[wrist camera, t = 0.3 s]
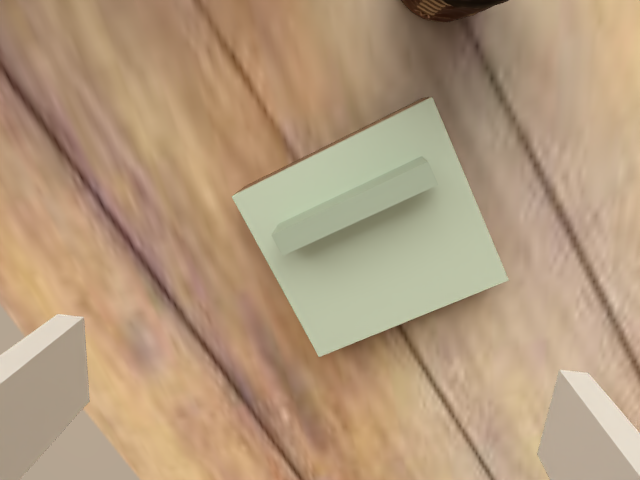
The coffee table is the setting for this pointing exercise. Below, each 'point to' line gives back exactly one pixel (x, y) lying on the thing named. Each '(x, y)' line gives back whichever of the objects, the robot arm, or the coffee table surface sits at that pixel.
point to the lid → (373, 230)
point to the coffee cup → (448, 8)
